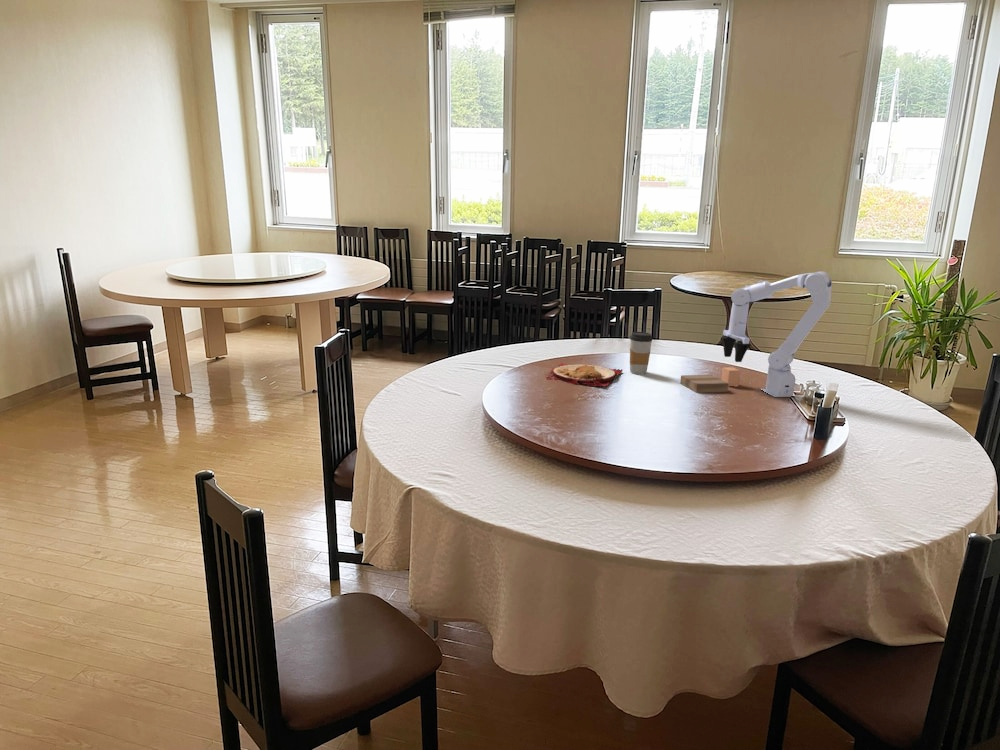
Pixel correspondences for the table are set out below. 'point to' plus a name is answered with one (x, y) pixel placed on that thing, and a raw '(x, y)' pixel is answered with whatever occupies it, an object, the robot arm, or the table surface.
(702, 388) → the walnut stand
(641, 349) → the coffee cup
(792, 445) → the table surface
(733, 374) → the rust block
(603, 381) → the plate with food
